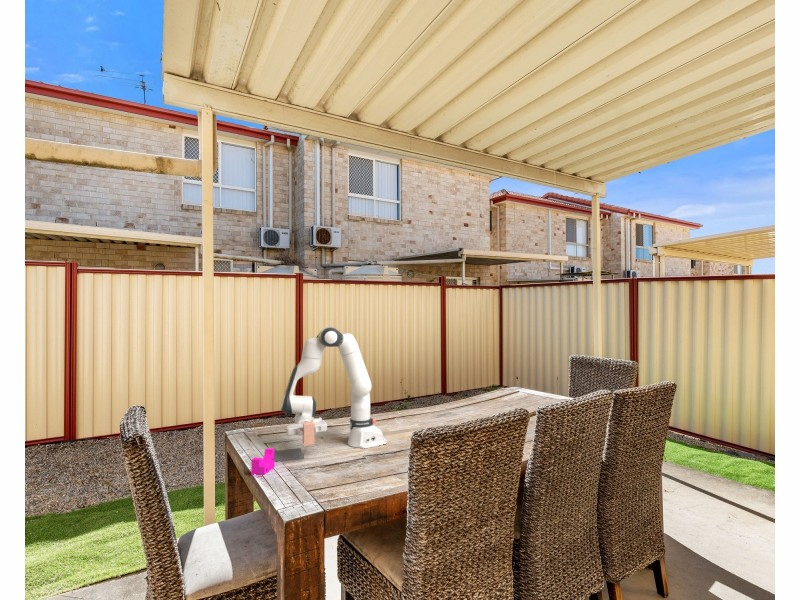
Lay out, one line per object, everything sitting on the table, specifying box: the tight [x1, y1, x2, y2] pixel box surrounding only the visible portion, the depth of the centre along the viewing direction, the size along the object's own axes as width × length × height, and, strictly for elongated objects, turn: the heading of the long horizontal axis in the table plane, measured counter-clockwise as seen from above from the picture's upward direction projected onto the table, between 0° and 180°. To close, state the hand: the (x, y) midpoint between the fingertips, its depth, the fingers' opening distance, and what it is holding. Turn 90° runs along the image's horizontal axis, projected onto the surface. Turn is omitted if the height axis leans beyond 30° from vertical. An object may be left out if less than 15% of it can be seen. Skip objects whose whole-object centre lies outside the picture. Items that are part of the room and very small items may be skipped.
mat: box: [274, 447, 305, 462], centre depth 204 cm, size 14×14×1 cm
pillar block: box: [302, 421, 315, 447], centre depth 196 cm, size 5×5×10 cm
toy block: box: [250, 447, 276, 477], centre depth 186 cm, size 15×6×8 cm, turn 173°
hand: (308, 432), depth 195 cm, fingers closed on pillar block, 5 cm apart
